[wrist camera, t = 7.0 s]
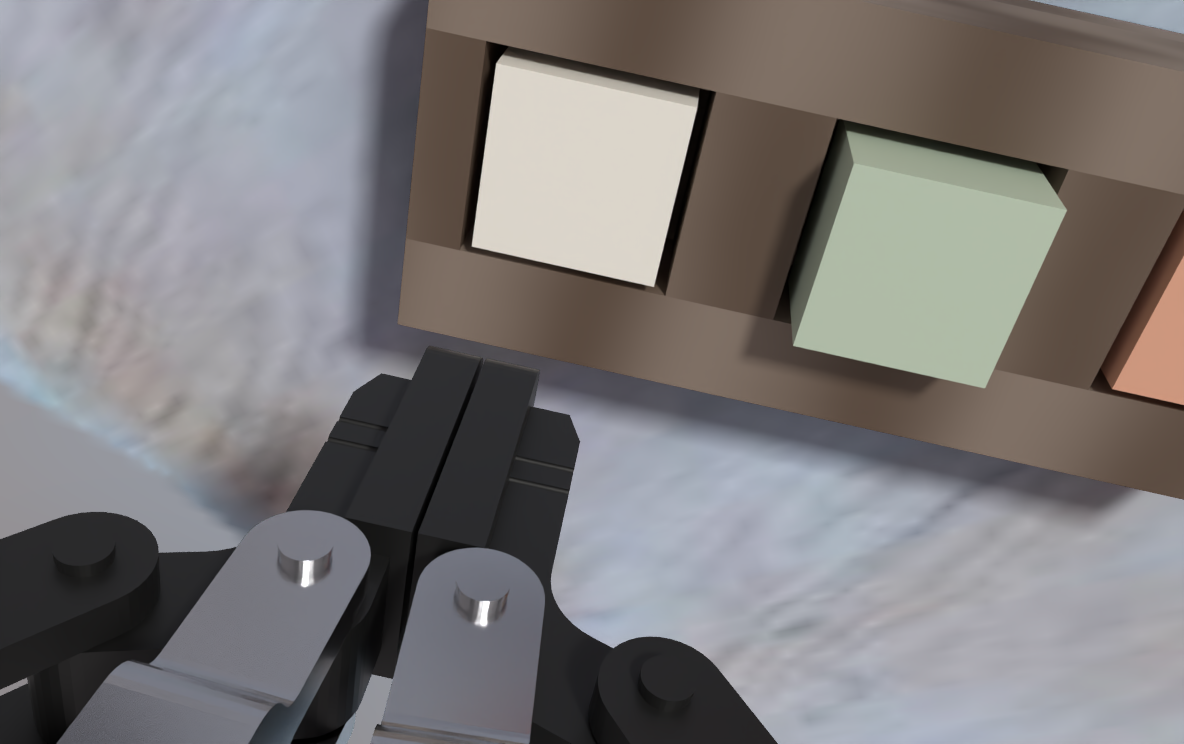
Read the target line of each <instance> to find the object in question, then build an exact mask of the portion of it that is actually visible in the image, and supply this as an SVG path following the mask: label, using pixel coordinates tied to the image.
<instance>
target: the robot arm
mask: <svg viewBox="0 0 1184 744" xmlns="http://www.w3.org/2000/svg"><path fill="white" fill-rule="evenodd" d="M539 373H540V370H537V369H532V368H528V367H523V366H519V365H514V364H510V363H505V362H501V361H496V360H492V359H486V360H485V362H484V365H483V358H482V357H478V356H473V355H469V354H464V353H460V352H455V351H451V350H446V349H442V348H437V347H433V346H429V347H428V348H427V349H426V351H425V353H424V355H423V357H422V359H421V362H420V364H419V366H418V368H417V370H416V372H415V374H414V376H413V378H412V380H409V379H404V378H400V377H395V376H391V375H386V374H382V373H381V374H380V375H378V376H377V377H375V378H374V379H372V380H371V381H369V382H368V383H366V384H365V385H363V386H362V387H360V388H359V389H357V390H356V391H354V392H353V394H352V396H351V398H350V399H349V401H348V403H347V405H346V406H345V408H344V410H343V412H342V414H341V415H340V419H339V421H337V422H336V424H335V426H334V428H333V430H332V431H331V433H330V435H329V438H328V441H327V442H325V444H324V446H323V447H322V449H321V451H320V453H319V454H318V456H317V458H316V460H315V462H314V463H313V465H312V467H311V469H310V471H309V472H308V474H307V476H306V478H305V479H304V481H303V483H302V485H301V487H300V488H299V490H298V492H297V494H296V495H295V497H294V499H293V501H292V503H291V504H290V506H289V508H288V510H287V511H286V513H282V514H278V515H275V516H272V517H270V518H267V519H266V520H264V521H262V522H260V523H259V524H257V525H256V526H255V527H253V528H252V529H251V530H250V531H249V532H248V533H247V534H246V535H245V537H244V538H243V539H242V541H241V542H240V544H239V545H238V546H237V547H234V548H231V549H225V550H219V551H208V552H173V553H158V544H157V541H156V539H155V537H154V536H153V534H152V532H151V531H150V530H149V529H148V528H147V527H146V526H144V525H143V524H141V523H139V522H138V521H136V520H134V519H132V518H129V517H127V516H123V515H119V514H114V513H107V512H87V513H78V514H73V515H68V516H64V517H61V518H58V519H55V520H52V521H49V522H47V523H44V524H41V525H38V526H36V527H33V528H30V529H27V530H25V531H22V532H20V533H17V534H14V535H11V536H9V537H6V538H3V539H0V689H2V688H4V687H7V686H9V685H11V684H13V683H16V682H18V681H20V680H22V679H25V678H27V680H28V684H26V685H23V686H21V687H19V688H17V689H15V690H12V691H10V692H8V693H6V694H4V695H2V696H0V744H347V743H348V740H349V738H350V736H351V734H352V731H353V728H354V724H355V715H356V711H357V709H358V707H359V705H360V703H361V701H362V698H363V696H364V693H365V691H366V688H367V685H368V683H369V680H370V677H371V675H372V674H373V675H378V676H382V677H387V678H391V679H393V681H392V684H391V689H390V692H389V696H388V700H387V704H386V708H385V712H384V716H383V719H382V722H381V725H379V724H377V726H376V728H375V731H374V734H373V737H372V740H371V743H370V744H778V743H777V742H776V741H775V740H774V738H773V737H772V736H771V735H770V733H769V732H768V731H767V730H766V728H765V727H764V726H763V725H762V723H761V722H760V721H759V720H758V718H757V717H756V716H755V715H754V713H753V712H752V711H751V710H750V708H749V707H748V706H747V705H746V703H745V702H744V701H743V700H742V698H741V697H740V696H739V695H738V693H737V692H736V691H735V690H734V688H733V687H732V686H731V685H730V683H729V682H728V681H727V679H726V678H725V677H724V676H723V674H722V673H721V672H720V671H719V669H718V668H717V667H716V666H715V665H714V664H713V663H712V662H711V661H710V660H709V659H708V658H707V657H705V656H704V655H703V654H702V653H700V652H699V651H697V650H695V649H694V648H692V647H690V646H688V645H686V644H684V643H681V642H678V641H675V640H672V639H667V638H662V637H640V638H635V639H631V640H628V641H626V642H623V643H621V644H619V645H618V646H616V647H615V648H611V647H610V646H608V645H606V644H604V643H602V642H600V641H598V640H596V639H594V638H592V637H591V636H589V635H587V634H586V633H584V632H582V631H581V630H580V629H578V628H577V627H576V626H575V625H573V624H572V623H571V622H570V621H569V620H568V619H567V618H566V617H565V616H564V614H563V613H562V611H561V610H560V609H559V607H558V605H557V603H556V601H555V599H554V597H553V593H552V590H551V573H552V568H553V563H554V559H555V554H556V550H557V545H558V540H559V536H560V531H561V527H562V522H563V517H564V513H565V508H566V504H567V499H568V494H569V490H570V485H571V481H572V476H573V471H574V467H575V462H576V458H577V453H578V449H579V444H580V441H579V438H578V435H577V433H576V430H575V428H574V425H573V423H572V420H571V418H570V415H567V414H562V413H558V412H553V411H549V410H544V409H540V408H535V407H534V401H535V396H536V391H537V385H538V380H539Z"/></svg>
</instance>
